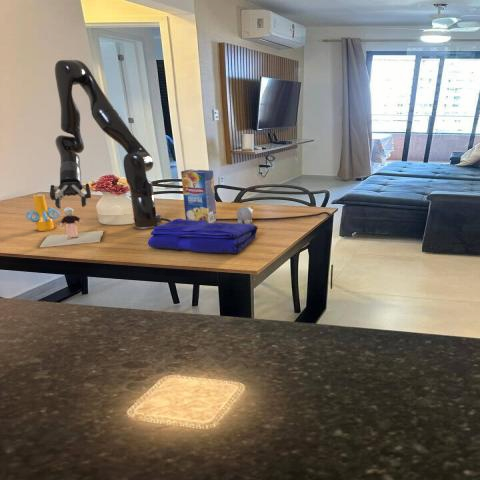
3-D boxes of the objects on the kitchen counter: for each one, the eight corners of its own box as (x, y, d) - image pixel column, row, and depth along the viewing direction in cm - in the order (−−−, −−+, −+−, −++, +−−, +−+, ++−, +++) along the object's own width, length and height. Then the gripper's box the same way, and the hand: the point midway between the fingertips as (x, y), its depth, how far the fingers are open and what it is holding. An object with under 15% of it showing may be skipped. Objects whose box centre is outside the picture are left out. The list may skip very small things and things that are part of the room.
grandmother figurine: (66, 241, 150) (60, 209, 146) (61, 239, 152) (55, 208, 148) (86, 236, 156) (80, 206, 152) (81, 234, 158) (75, 204, 154)
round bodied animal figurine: (259, 220, 186) (259, 203, 183) (249, 227, 175) (248, 208, 172) (245, 218, 187) (245, 202, 185) (234, 225, 176) (233, 207, 174)
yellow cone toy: (43, 234, 159) (36, 199, 154) (22, 232, 160) (14, 197, 156) (67, 226, 170) (61, 193, 165) (47, 224, 172) (40, 191, 167)
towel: (181, 230, 168) (180, 210, 165) (259, 236, 162) (258, 216, 159) (146, 250, 143) (143, 228, 140) (236, 258, 138) (235, 235, 135)
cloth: (103, 231, 164) (103, 230, 163) (100, 241, 152) (99, 240, 151) (48, 236, 156) (47, 235, 156) (39, 247, 144) (39, 246, 144)
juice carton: (216, 220, 183) (213, 170, 175) (208, 224, 176) (204, 173, 168) (194, 218, 186) (190, 169, 178) (185, 222, 179) (180, 171, 171)
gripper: (48, 169, 157) (47, 203, 150) (87, 168, 162) (89, 200, 156) (53, 180, 163) (53, 212, 157) (91, 178, 169) (92, 210, 162)
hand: (71, 206), depth 156 cm, fingers open, 8 cm apart
